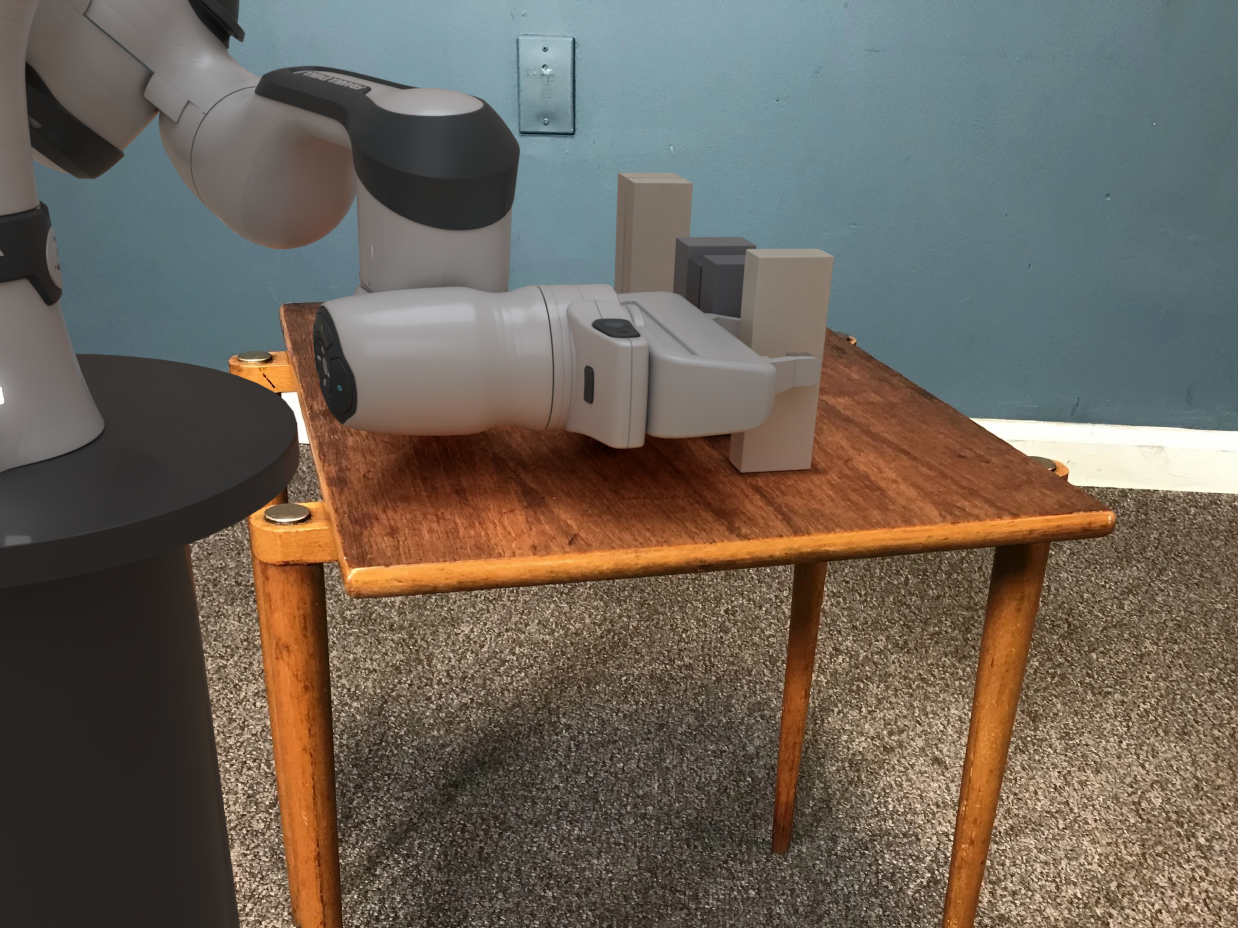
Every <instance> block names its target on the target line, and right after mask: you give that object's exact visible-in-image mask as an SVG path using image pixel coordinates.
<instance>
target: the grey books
mask: <svg viewBox="0 0 1238 928" xmlns="http://www.w3.org/2000/svg"><path fill="white" fill-rule="evenodd" d="M746 249H757V245H756V244H755V243H753V242H752V241H750V240H748V239H746V238H745V237H743V236H690V237H677V238H676V248H675V266H674V285H673V293H676V294H679V295H681V296H682V297H683V298H685V299H686V300H687V301H689V302H690V303H691V304H693V305H694V306H695V307H697V308H698V309H699V310H701V311H702V312H703V313H712V314H718V315H724V316H729V317H735V318H741V306H742V293H743V281H744V268H745V256H746ZM721 435H724V434H721ZM729 435H731V433H730V434H729Z"/></svg>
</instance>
